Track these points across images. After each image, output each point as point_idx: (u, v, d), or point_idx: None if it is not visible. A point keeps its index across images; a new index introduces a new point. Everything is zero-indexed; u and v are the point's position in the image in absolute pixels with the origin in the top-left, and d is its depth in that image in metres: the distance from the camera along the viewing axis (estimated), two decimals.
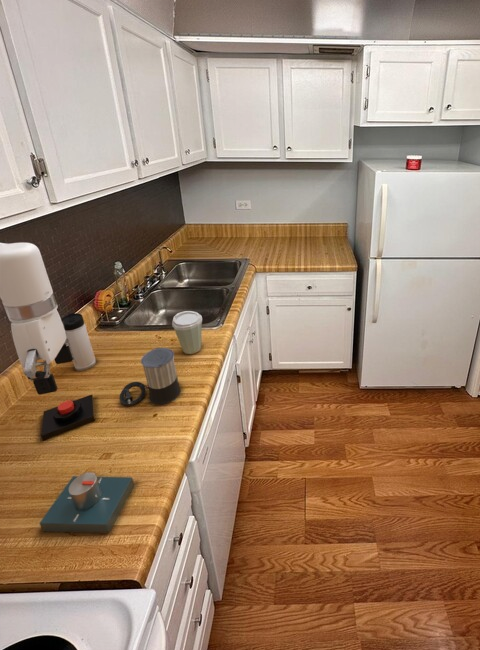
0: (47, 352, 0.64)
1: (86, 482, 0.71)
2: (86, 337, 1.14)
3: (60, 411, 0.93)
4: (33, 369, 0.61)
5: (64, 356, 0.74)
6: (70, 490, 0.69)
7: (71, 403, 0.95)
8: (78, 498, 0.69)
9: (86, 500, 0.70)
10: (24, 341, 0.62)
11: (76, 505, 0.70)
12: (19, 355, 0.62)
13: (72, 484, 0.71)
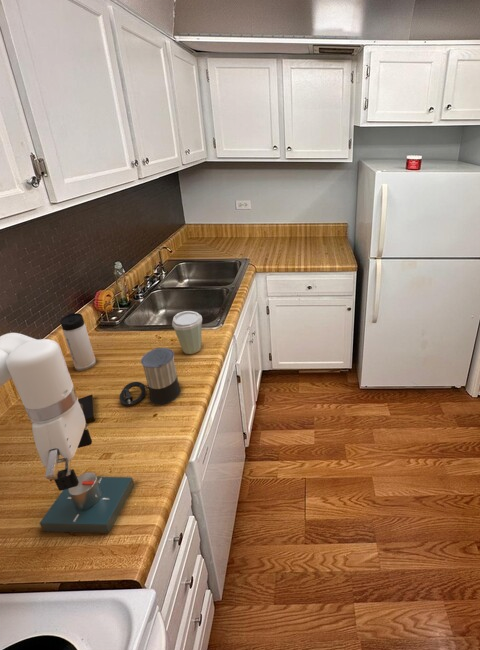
0: (68, 449, 0.62)
1: (86, 482, 0.71)
2: (86, 337, 1.14)
3: None
4: (55, 472, 0.59)
5: (83, 440, 0.72)
6: (70, 490, 0.69)
7: None
8: (78, 498, 0.69)
9: (86, 500, 0.70)
10: (45, 442, 0.60)
11: (76, 505, 0.70)
12: (41, 456, 0.60)
13: None
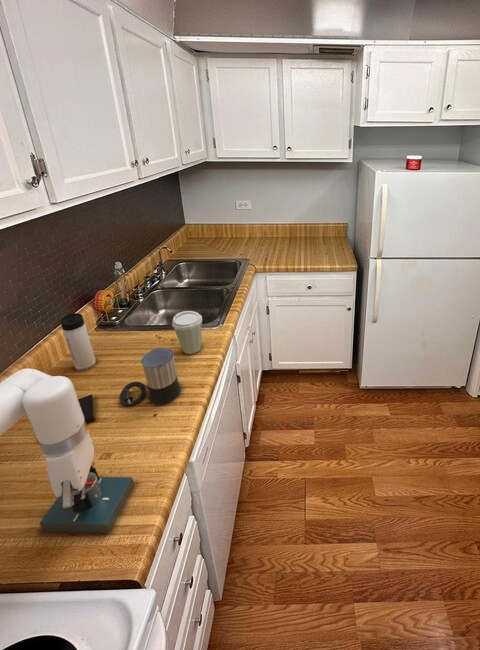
0: (79, 481, 0.65)
1: (86, 482, 0.71)
2: (86, 337, 1.14)
3: None
4: (71, 502, 0.64)
5: None
6: None
7: None
8: None
9: None
10: (58, 475, 0.63)
11: None
12: (53, 487, 0.64)
13: None
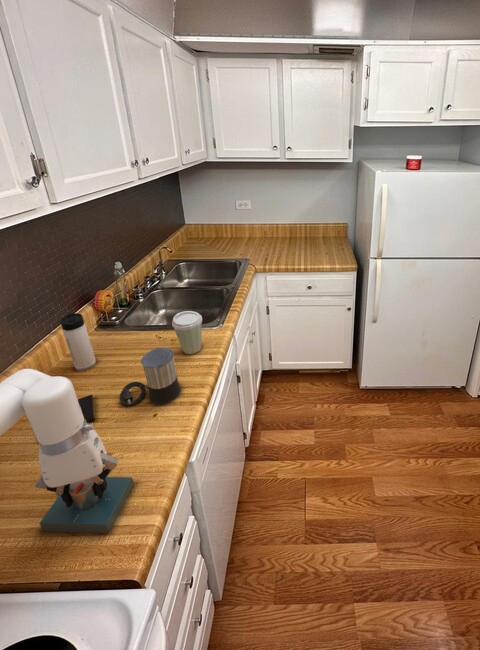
0: (44, 479, 0.65)
1: (79, 486, 0.70)
2: (86, 337, 1.14)
3: None
4: (39, 485, 0.67)
5: None
6: None
7: None
8: None
9: None
10: None
11: None
12: None
13: None
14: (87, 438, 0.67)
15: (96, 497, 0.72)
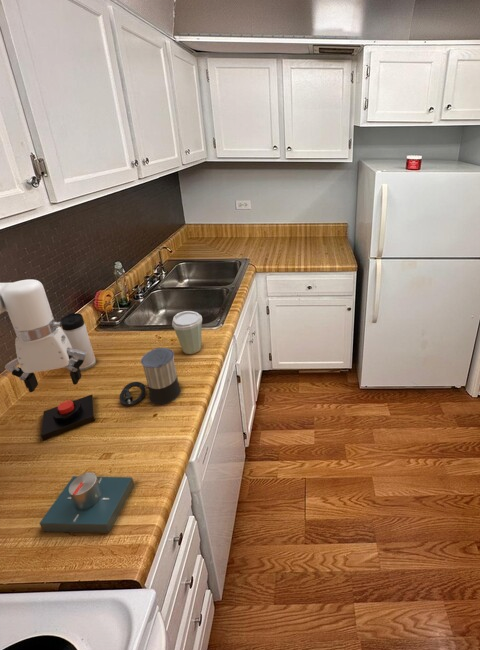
0: (20, 365, 0.81)
1: (79, 486, 0.70)
2: (86, 337, 1.14)
3: (60, 411, 0.93)
4: (8, 367, 0.81)
5: None
6: (80, 475, 0.72)
7: (71, 403, 0.95)
8: None
9: None
10: None
11: None
12: None
13: (88, 474, 0.73)
14: (55, 333, 0.82)
15: (96, 497, 0.72)
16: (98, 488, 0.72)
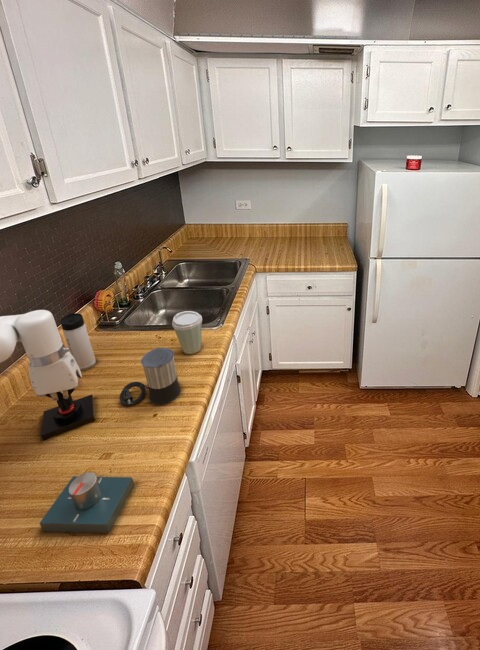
0: (33, 388, 0.88)
1: (79, 486, 0.70)
2: (86, 337, 1.14)
3: (61, 413, 0.93)
4: (39, 394, 0.91)
5: None
6: (80, 475, 0.72)
7: (72, 405, 0.95)
8: None
9: None
10: None
11: None
12: None
13: (88, 474, 0.73)
14: (65, 357, 0.89)
15: (96, 497, 0.72)
16: (98, 488, 0.72)
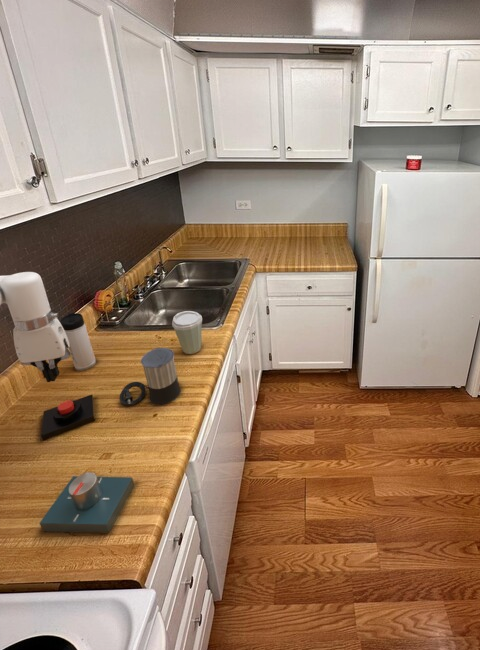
0: (17, 354, 0.84)
1: (79, 486, 0.70)
2: (86, 337, 1.14)
3: (60, 411, 0.93)
4: (24, 363, 0.86)
5: None
6: (80, 475, 0.72)
7: (71, 403, 0.95)
8: None
9: None
10: None
11: None
12: None
13: (88, 474, 0.73)
14: (53, 324, 0.85)
15: (96, 497, 0.72)
16: (98, 488, 0.72)
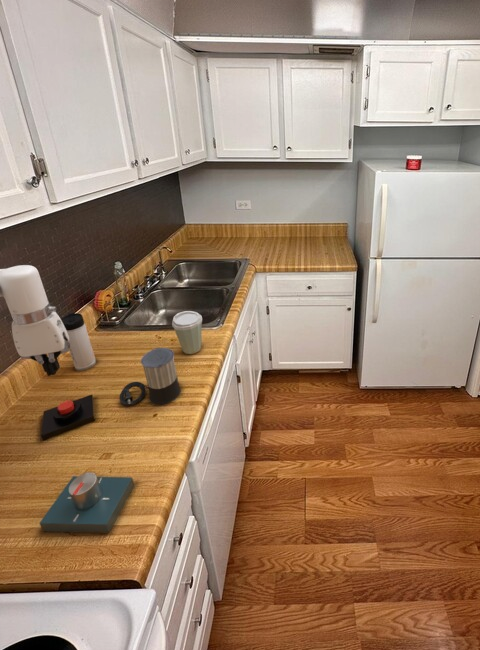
0: (17, 348, 0.83)
1: (79, 486, 0.70)
2: (86, 337, 1.14)
3: (60, 411, 0.93)
4: (23, 357, 0.86)
5: None
6: (80, 475, 0.72)
7: (71, 403, 0.95)
8: None
9: None
10: None
11: None
12: None
13: (88, 474, 0.73)
14: (51, 317, 0.84)
15: (96, 497, 0.72)
16: (98, 488, 0.72)
